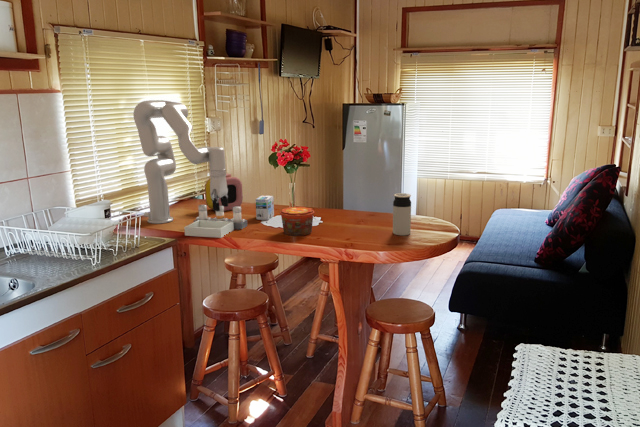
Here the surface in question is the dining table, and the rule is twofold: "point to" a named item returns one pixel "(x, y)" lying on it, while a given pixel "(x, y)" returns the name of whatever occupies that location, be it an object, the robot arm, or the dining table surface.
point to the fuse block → (236, 225)
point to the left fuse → (202, 212)
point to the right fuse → (237, 214)
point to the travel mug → (401, 214)
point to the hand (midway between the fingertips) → (220, 208)
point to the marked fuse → (220, 214)
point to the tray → (209, 228)
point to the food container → (297, 220)
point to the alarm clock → (233, 193)
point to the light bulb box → (264, 207)
